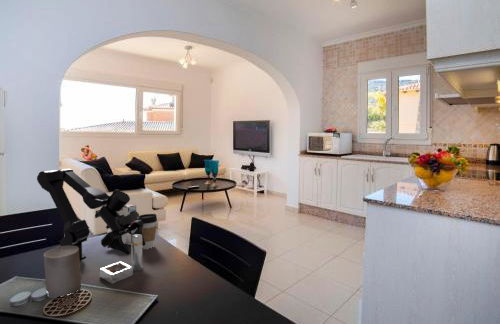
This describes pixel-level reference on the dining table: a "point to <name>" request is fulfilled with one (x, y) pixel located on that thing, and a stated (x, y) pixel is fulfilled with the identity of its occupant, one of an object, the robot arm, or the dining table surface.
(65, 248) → the pillar candle
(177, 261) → the dining table surface
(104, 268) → the white square flat box
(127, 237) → the white knot sculpture
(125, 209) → the candy bar box
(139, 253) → the tube
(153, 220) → the coffee cup
